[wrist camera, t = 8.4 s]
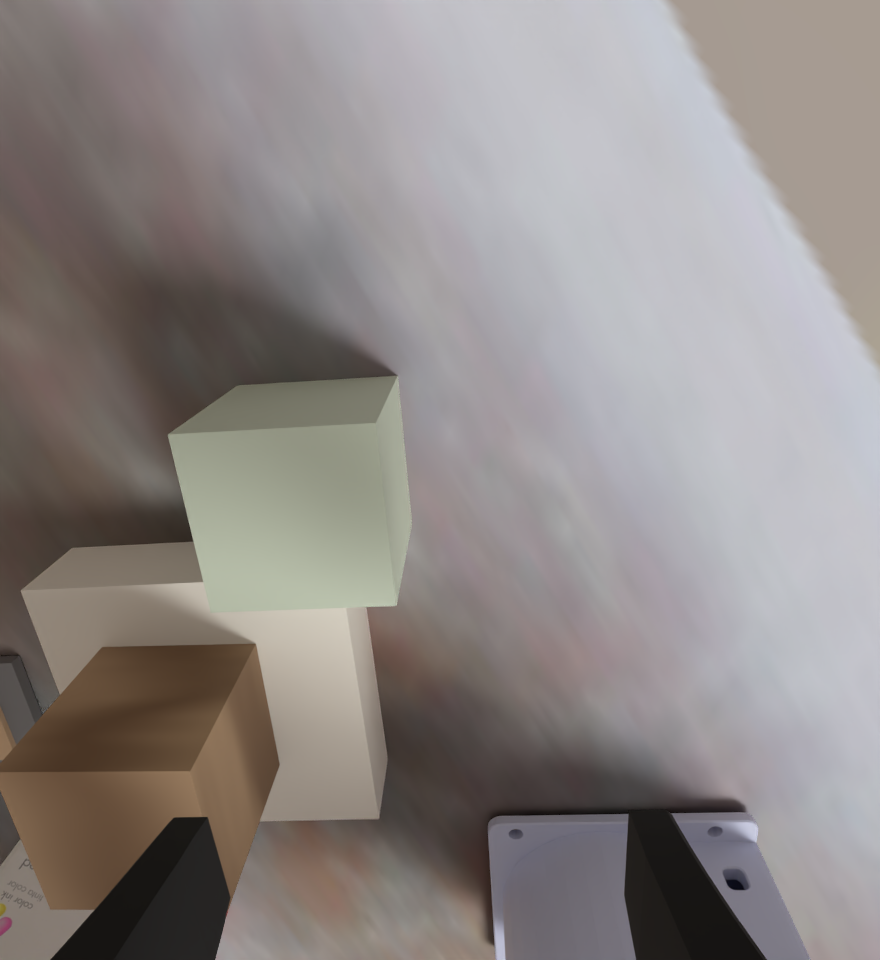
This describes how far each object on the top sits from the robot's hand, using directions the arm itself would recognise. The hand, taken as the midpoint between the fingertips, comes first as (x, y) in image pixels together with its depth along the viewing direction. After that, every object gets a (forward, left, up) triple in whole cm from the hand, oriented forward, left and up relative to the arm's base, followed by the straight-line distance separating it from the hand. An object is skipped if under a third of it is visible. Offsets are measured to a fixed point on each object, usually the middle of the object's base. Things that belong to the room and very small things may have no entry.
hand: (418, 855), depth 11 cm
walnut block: (+8, +3, -7) cm, 11 cm away
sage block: (+3, -4, -10) cm, 11 cm away
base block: (+7, +3, -10) cm, 13 cm away
